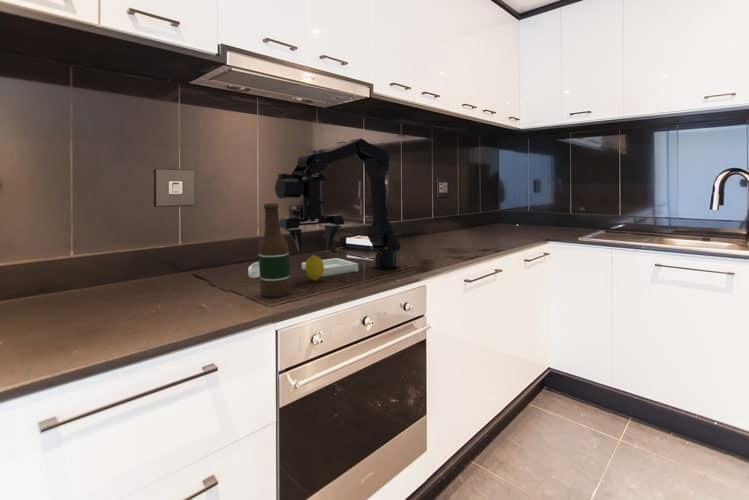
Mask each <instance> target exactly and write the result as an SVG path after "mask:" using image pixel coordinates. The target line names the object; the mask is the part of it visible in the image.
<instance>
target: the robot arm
mask: <svg viewBox="0 0 749 500" xmlns="http://www.w3.org/2000/svg"><path fill="white" fill-rule="evenodd" d="M389 154H390V153H389V152H388V151H387V150H386V149H383V148H380V147H379V146H377V145H375V144H373V143H370V142H368V141H367V140H366V139H364V138H356V139H351V140H350V141H348V142H346V143H342V144H340V145H338V146H337V145H336V146H334V147H331V148H330V149H327V150H323V151H319V152H312V153H305V154H301V155H300V156H298V157H297V158H298V159H297V163H296V166H295V168H293V171H292V172H291V173H290V174H288V173H278V175H277V176H278V177H277V179H276V180H275V181H276V182H275V186H274V189H275V190H274V191H275V196H277V198H278V199H299V198H301V200H300V201H299V207H297V205H290V206H289V207H288V215H289V217H281V218H280V219H279V225H280V229H284V231H286V232H288V233H289V234H290V235H291V237H292V240H293V242H294V244H295V247H296V248H297V251H298V253H302V242H303V241H302V229H301V228H299V227H300V226H307V225H308V226H310V225H321V224H323V227H324V230H325V247H326V248H325V249H327V250H329V249H330V247H331V245H332V243H333V240H334V237H335V235H336V234H337V232H338V230H339V229H340V228H342V225H345V217H344V216H343V215H342V214H323V205H325V201H324V200H323V198H322V197H323V196H322V182H328V178H326V177H325V175H324V174H323V173H322V172H323V171H325V170H326V169H328V167H329V166H331V164H333V163H335V162H337V161H340V160H343V159H345V158H348V157H350V156H353V155H355V156H356V157H357V158H358V160H360V161H361V162H362V163H363V165H364V170H365V172H366V173H367V175H368V176H369V181H370V194H371V207H372V208H371V210H372V222H371V225H369V226H367V235H368V236H367V238H368V239H369V242H370V244H371V245H372V249H373V250H375V252H376V253H375V264H374V265H373V266H374V268H378V269H380V270H390V269H396V268H399V267H400V265H397V252H398V251H400V249H401V247H402V246H401V245H402V244H401V243H400V242H399V240H398V238H396V237H395V233H394V228H393V226H392V224H391V222H390V221H389V219H388V201H387V187H386V185H387V184H386V176H387V173H388V171H389V168H390V155H389ZM315 174H316V175H315ZM303 178H305V179H303Z"/></svg>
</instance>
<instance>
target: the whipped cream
mask: <svg viewBox="0 0 749 500" xmlns="http://www.w3.org/2000/svg"><path fill="white" fill-rule="evenodd" d="M247 271H248V277H249V278H253V279H256V278H260V271H259V261H256V262H254V263H252V264H251V265H249V266H248V270H247Z"/></svg>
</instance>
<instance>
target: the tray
mask: <svg viewBox="0 0 749 500" xmlns="http://www.w3.org/2000/svg"><path fill="white" fill-rule="evenodd" d="M321 260H322V262H323V265H324V272H323V275H322V276H321V277H320V278H322V277H328V276H336V275H341V274H348V273H355V272H358V271H359V263H356V262H353V261H349V260H347V259H342V258H338V257H335V258H327V259H321ZM305 265H306V261H305V262H301V270H302V271H303V272H306V271H305Z"/></svg>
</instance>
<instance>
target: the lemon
mask: <svg viewBox="0 0 749 500" xmlns="http://www.w3.org/2000/svg"><path fill="white" fill-rule="evenodd" d="M322 260H323V259H321V258H320V257H319V256H317V255H316V254H312V256H310V257H308V259H307V260H306V261H305V262H306V265H305V271H304V272H305V274H306V275H307V277H308V278H309V279H311V280H312V281H314V282H317V280H318V279H320V278H322V277H321V276H322V275H323V272H324V265H323V262H322Z"/></svg>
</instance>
